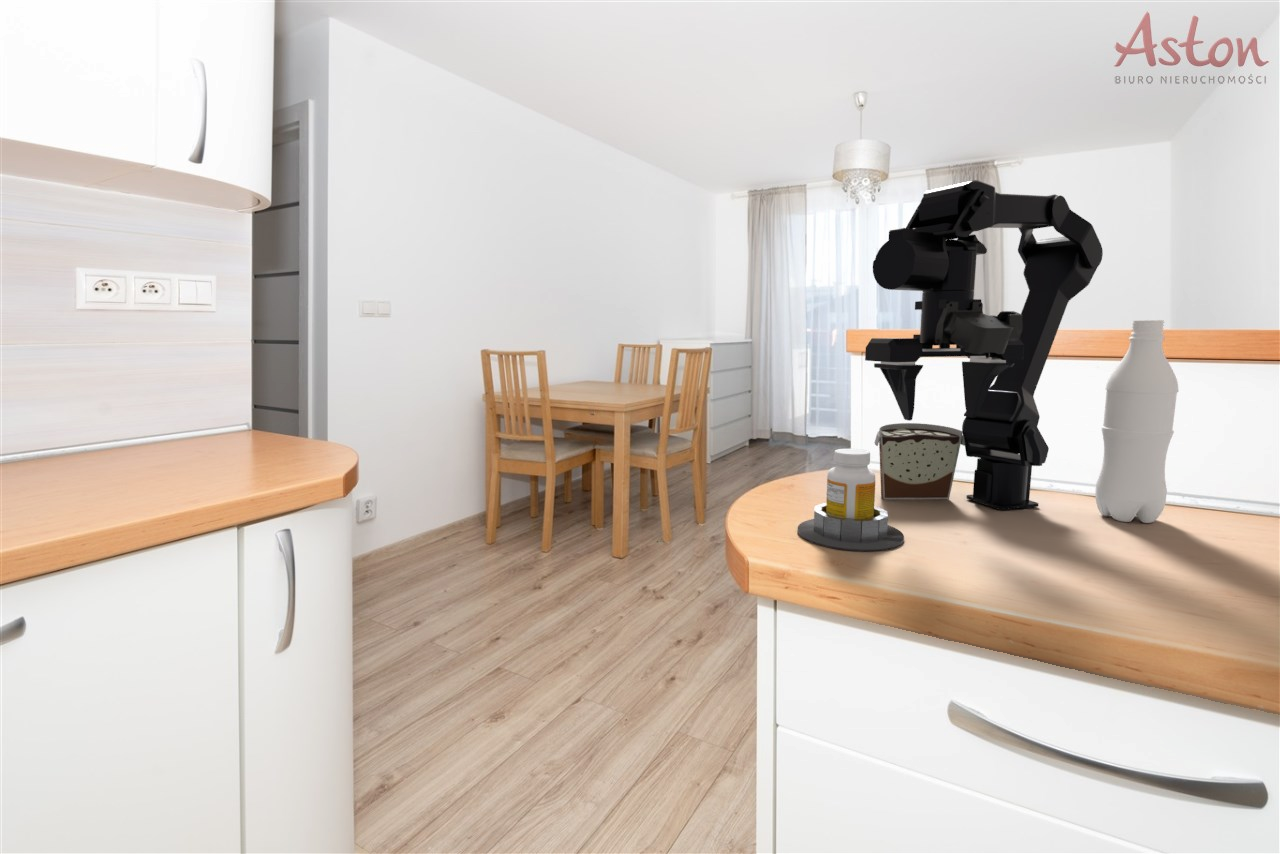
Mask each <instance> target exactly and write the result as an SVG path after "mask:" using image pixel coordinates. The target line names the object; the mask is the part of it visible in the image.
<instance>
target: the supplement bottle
mask: <svg viewBox="0 0 1280 854" xmlns="http://www.w3.org/2000/svg"><path fill="white" fill-rule="evenodd" d="M833 462H834V463H835V466H834V467H831V468H830V469H829V470H828V472H827V476H826V480H827V481H826V502H825V503H826V514H828V515H831V516H836V517H841V518H849V519H868V518H874V506H875V502H876V501H875V498H876V475H875V472H874V471H873V470H871V469H870V468H868V466H869V465H870V463H871V452H870V451H869V450H866V449H860V448H839V449H835V450H834V453H833Z"/></svg>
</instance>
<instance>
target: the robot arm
mask: <svg viewBox="0 0 1280 854" xmlns="http://www.w3.org/2000/svg"><path fill="white" fill-rule="evenodd" d="M922 196H923V197H922V198H921V200H920V203H919V204H918V206H917V207H916V209H915V211H914V213H913V215H912V217H911V218H910V220H909V221H908V223H907V225H906V227H902V228H901V227H900V228H894V229H890V230H888V240H887V241H886V242H884V243H883V244H882V246H881V247H880V248H879V250H878V251H877V253H876V255H875V258H874V260H873V262H872V274H873V277H874V279H875V282H876V283H877V284H878V286H879V287H881V288H883V289H884V290H885V289H886V290H891V291H913V292H914V291H917V292H922V293H921V294H922V295H921V300H920V301H915V303H914V310H915V311H917V310H918V311H920V313H921V315H920V330H919V331H920V333H919V334H913V335H912V336H913V337H911V338H910V337H909V338H908V337H902V338H901V337H888V338H887V337H884V338H883V337H879V338H878V337H877V338H876V337H872V338H871V339H870V340H869V342H868V344H867V345H866V347H865V352H864V353H865V354H864V355H865V356H864V357H865V358H864V361H868V362H869V361H870V362H874V363H873V367H874V368H876V369H877V368H878V369H879V370H880V371H881V373H882V375H883V376H884V378H885V379H886V382H887V383H888V386H889V387H890V389H891V391H892V394H893V396H894V399H895V400H896V403H897V405H898V409H899V410H900V412H901V415H902V417H903V420H904V421H908V422H909V421H913V417H914V411H915V399H916V384H917V383H916V380H917V378H918V375H919V374H920V372H921V371H922V369H923V367H924V365H923V364H916V362H918V361H919V360H920V358H933V357H937V358H939V357H942V358H943V357H944V358H945V357H946V358H947V357H966V358H967V359H969V361H968V360H967V361H961V371H962V381H963V395H964V406H965V412H964V413H963V416H964V417H965V418H964V419H963V422H962V424H961V425H962V426H961V431H963V433H962V435H963V436H964V440H965V445H964V449H965V455H966V457H968V458H971V457H972V458H977V459H976V461H977V462H976V469H975V470H974V476H973V489H972V494H967V495H966V500H970V501H972V502H976V503H978V504H981V505H983V506H984V505H985V506H988V507H991V508H994V509H997V510H1001V511H1003V510H1014V509H1024V508H1038V507H1039V502H1036V501H1034V500H1030V494H1031V483H1032V468H1033V467H1040V466H1042V467H1043V464H1045V463H1046V460H1047V458H1048V453H1049V446H1048V444H1047V443H1046V441H1045V439H1044V437H1043V435H1042V433H1041V431H1040V430H1039V428H1038V425H1039V421H1040V413H1039V409H1038V407H1037V403H1036V400H1035V398H1034V395H1035V392H1036V389H1037V386H1038V385H1039V384H1038V383H1039V381H1040V380H1041V379H1040V378H1041V376H1042V373H1043V371H1044V368H1045V365H1046V363H1047V360H1048V356H1049V355H1050V352H1051V349H1052V347H1053V344H1054V341H1055V338H1056V336H1057V333H1058V331H1059V328H1060V325H1061V322H1062V320H1063V317H1064V315H1065V311H1066V309H1067V306H1068V304H1069V302H1070V301H1071V300H1072V299H1073V298H1074V297H1076V296H1077V295H1078V294H1079V293H1081V292H1082V291H1083V290H1084V289H1086V288H1087V287H1088V286H1089V285H1090V283H1091V281H1092V278H1093V277H1094V274H1095V273H1096V271H1097V269H1098V268H1099V266H1100V264H1101V262H1102V260H1103V253H1104V252H1103V247H1102V243H1101V242H1100V239H1099V237H1098V235H1097V233H1096V232H1097V231H1096V230H1095V228H1094V226H1093V225H1092V223H1091V222H1090V221H1088V220H1086V219H1085V218H1084V217H1082V216H1080V215H1079V214H1077V213H1076V212H1074V211H1073V210H1072V209H1071V208H1070V207H1069V204H1068V202H1067V200H1066V199H1065V197H1064V196H1063V195H1057V194H1049V195H1036V194H1035V195H1033V194H1032V195H1031V194H1015V193H1013V194H1011V193H1010V194H1009V193H1000V192H996V188H995V186H994V185H992V184H989V183H986V182H983V181H980V180H976V179H975V180H971V181H966V182H961V183H957V184H953V185H952V184H951V185H948V186H944V187H940V188H934V189H931V190H929V189H928V190H926V191H925V192H924V193H923V195H922ZM1049 227H1053V229H1054V230H1055V231H1056V232H1057V233H1058V234H1060V235H1062V236H1059V237H1058V236H1057V237H1052V238H1051V237H1050V238H1044V239H1039V240H1038V241H1037V240H1036V238H1035V236H1034V234H1033V232H1034V230H1035V229H1043V228H1049ZM990 228H991V229H993V228H995V229H996V228H997V229H1003V228H1004V229H1013V228H1014V229H1018V230H1019V232H1020V234H1021V235H1020V239H1019V243H1018V247H1017V252H1018V254H1019V256H1020V258H1021V260H1022V262H1023V264H1024V269H1023V276H1024V280H1025V282H1026V285H1027V288H1028V293H1027V296H1026V299H1025V302H1024V305H1023V307H1022V310H1021V313H1019V312H1018V311H1014V310H1012V311H1011V310H1009V311H1007V310H1005V311H1004V310H1003V311H1000V312H999V313H998V314H997V315H995V314H994V315H993V314H992V315H989V314H988V315H987V314H986V313H984V312H983V308H984V306H983V305H984V304H983V302H982V298H981V299H980V298H979V299H977V298H976V299H975V298H974V296H975V283H976V268H977V255H978V256H979V255H986V254H987V252H988V248H987V247H986V246H985V244H984V243H983V242H981V241H980V240H979V239H978V237H977V235H976V234H972V233H973V232H979V231H982V230H985V229H990ZM951 345H953V346H954V345H955V346H956V347H951ZM933 346H938V347H933ZM875 362H876V363H875ZM879 362H880V363H879Z"/></svg>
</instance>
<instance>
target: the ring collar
mask: <svg viewBox="0 0 1280 854" xmlns="http://www.w3.org/2000/svg"><path fill="white" fill-rule="evenodd" d="M813 511H814V513H813V514H814V515H813V518H811V519H807V520H804V521H802V522H800V523H799V524H798V526H797V533H798V535H799V536H800V538H802V539H803V540H805V541H807V542H809V543H812V544H815V545H816V546H821V547H824V548H829V549H834V550H842V551H849V552H883V551H888V550H893V549H896V548H898V547H900V546H902V544H904V541H905V535H904V533H903V532H902V531H900V529H898V528H896V527H894V526H892V525H890V524H889V515H888V510H885V509H883V508H881V507H879V506H877V505H874V518H868V519H849V518H841V517H836V516H831V515H828V514H826V502H823V503H820V504H816V505H815V506H814V510H813Z"/></svg>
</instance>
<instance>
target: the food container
mask: <svg viewBox="0 0 1280 854" xmlns="http://www.w3.org/2000/svg"><path fill="white" fill-rule="evenodd" d="M873 443H874V445H875V446H876V447H878V446H879V447H878V448H879V450H878V451H879V472H880V473H879V474H880V478H879V479H880V495H881V496H880V497H881V499H883V500H950V496H951V491H952V486H953V482H954V477H955V474H956V473H955V472H956V468H957V463H958V457H959V453H960V449H961V446H965V440H964V436H963V431H962V430H960V429H957V428H954V427H949V426H944V425H939V424H929V423H919V422H918V423H917V422H915V423H914V422H905V423H904V422H902V423H890V424H884V425H882V426H880V427H879V430H878V431H877V433H876V436H875V439H874V442H873Z"/></svg>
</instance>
